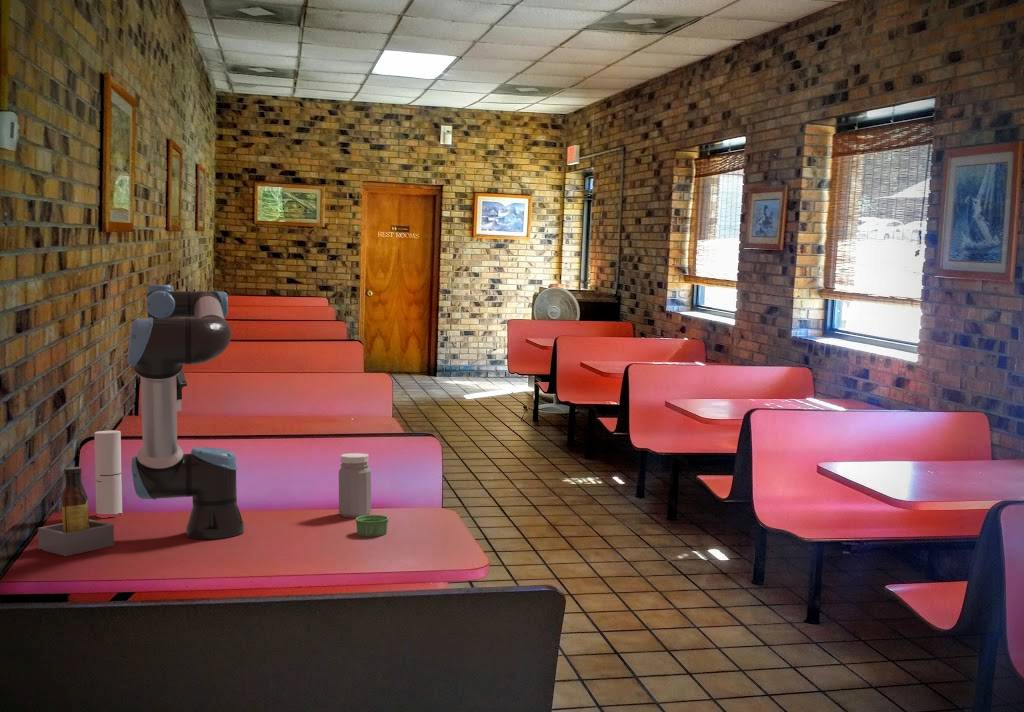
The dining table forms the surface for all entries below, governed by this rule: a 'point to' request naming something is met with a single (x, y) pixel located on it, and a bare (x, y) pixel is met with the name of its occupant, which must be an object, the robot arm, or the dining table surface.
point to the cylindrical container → (108, 472)
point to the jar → (354, 485)
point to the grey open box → (75, 538)
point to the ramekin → (372, 525)
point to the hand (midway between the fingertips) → (162, 409)
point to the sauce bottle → (74, 502)
